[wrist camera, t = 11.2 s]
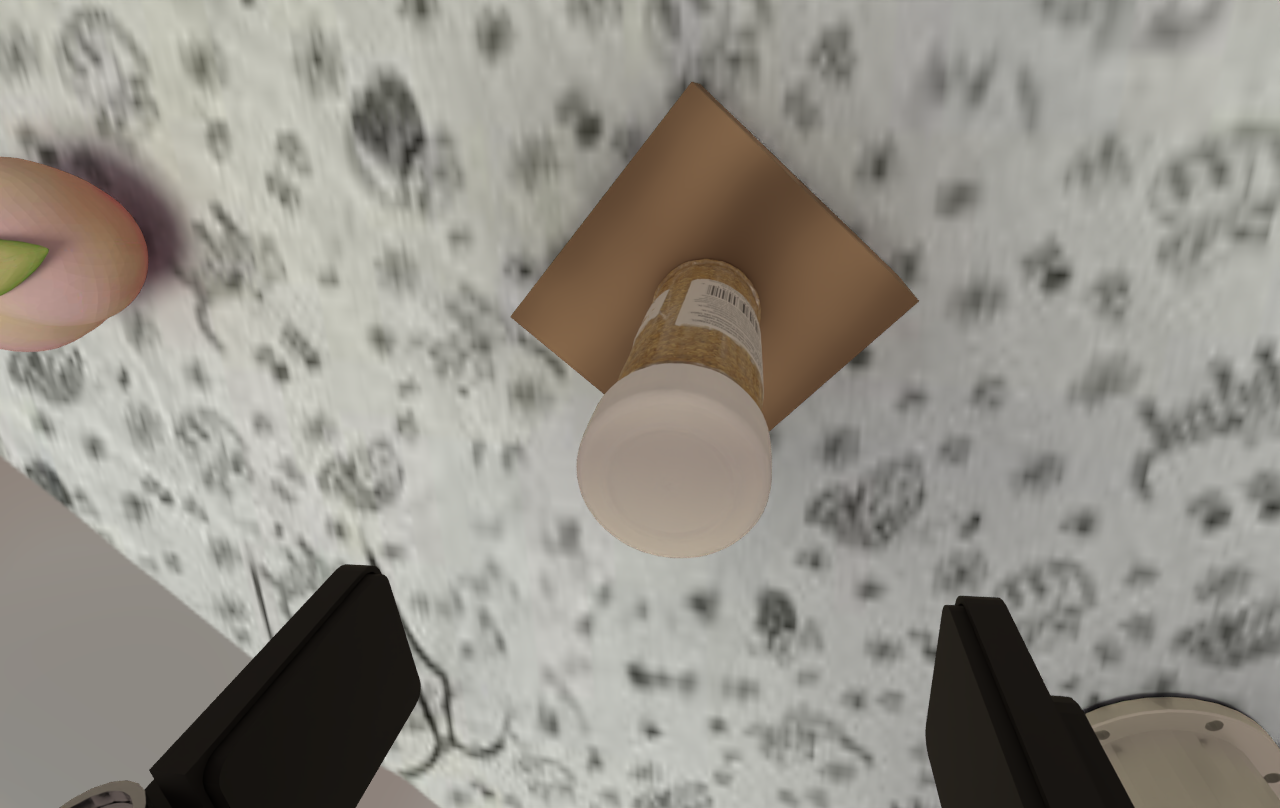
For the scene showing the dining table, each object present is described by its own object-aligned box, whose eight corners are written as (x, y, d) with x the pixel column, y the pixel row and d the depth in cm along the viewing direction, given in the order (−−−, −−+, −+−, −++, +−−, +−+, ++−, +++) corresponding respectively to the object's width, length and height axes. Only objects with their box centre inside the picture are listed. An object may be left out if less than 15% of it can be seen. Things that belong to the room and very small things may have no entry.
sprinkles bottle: (632, 292, 26) (532, 449, 14) (728, 234, 25) (705, 357, 13) (689, 379, 28) (640, 591, 16) (783, 330, 26) (809, 524, 14)
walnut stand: (897, 275, 28) (919, 301, 25) (715, 441, 33) (711, 482, 30) (700, 83, 26) (691, 81, 23) (537, 292, 31) (510, 316, 28)
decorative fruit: (120, 113, 31) (-138, 120, 22) (231, 264, 33) (42, 325, 24) (15, 201, 34) (-249, 238, 25) (124, 333, 36) (-79, 409, 28)
